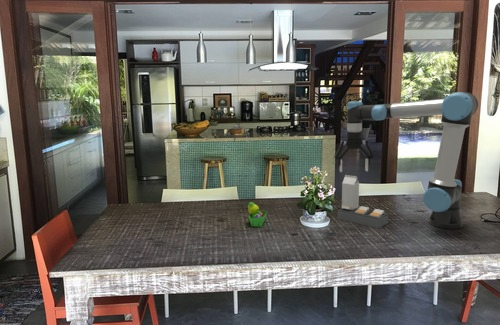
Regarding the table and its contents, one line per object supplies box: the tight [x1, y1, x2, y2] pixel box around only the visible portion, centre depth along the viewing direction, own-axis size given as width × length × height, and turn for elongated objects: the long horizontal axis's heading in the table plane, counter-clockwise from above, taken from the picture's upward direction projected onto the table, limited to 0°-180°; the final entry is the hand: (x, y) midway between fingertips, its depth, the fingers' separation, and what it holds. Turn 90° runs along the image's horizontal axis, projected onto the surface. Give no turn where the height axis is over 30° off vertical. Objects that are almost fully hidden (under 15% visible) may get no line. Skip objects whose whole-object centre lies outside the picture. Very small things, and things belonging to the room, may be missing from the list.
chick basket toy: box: [247, 201, 267, 228], centre depth 204 cm, size 11×9×11 cm
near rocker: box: [370, 208, 385, 218], centre depth 200 cm, size 4×6×1 cm
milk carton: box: [341, 174, 360, 209], centre depth 228 cm, size 7×7×19 cm
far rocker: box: [341, 205, 355, 210], centre depth 211 cm, size 4×6×1 cm
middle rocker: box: [355, 205, 370, 215], centre depth 205 cm, size 4×6×1 cm
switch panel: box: [336, 207, 389, 229], centre depth 206 cm, size 23×10×5 cm, turn 47°
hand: (353, 171), depth 213 cm, fingers open, 13 cm apart
